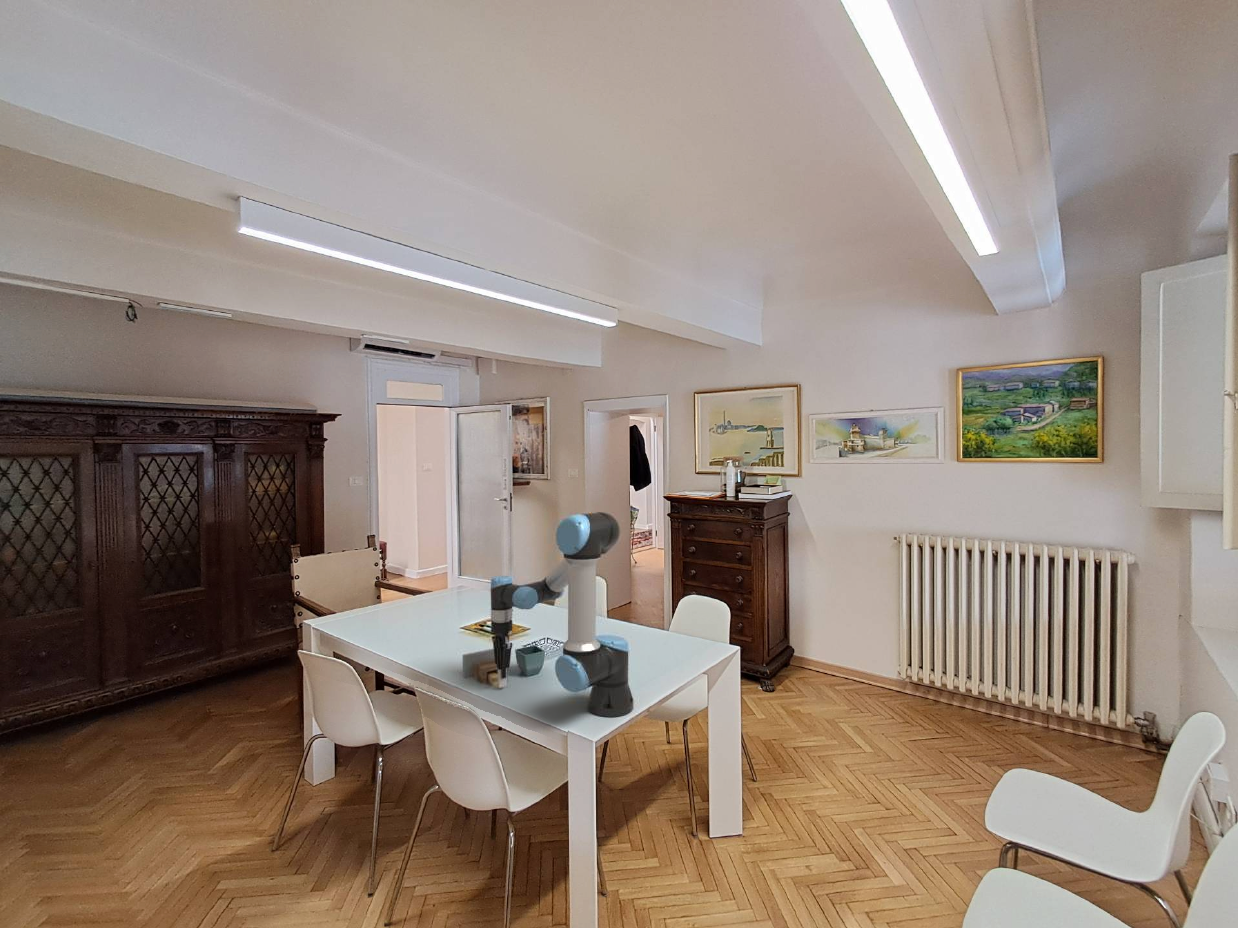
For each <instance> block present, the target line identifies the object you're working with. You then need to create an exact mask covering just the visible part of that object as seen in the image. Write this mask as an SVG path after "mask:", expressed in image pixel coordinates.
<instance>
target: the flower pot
mask: <svg viewBox="0 0 1238 928" xmlns="http://www.w3.org/2000/svg"><path fill="white" fill-rule="evenodd" d="M514 654H515V660H516V664H517V667H518V669H519V671H520V672H521V673H522V675H524V676H526V677H530V676H534V675H537V674H538V675H539V673H540V672H541V671H542V669H543V666H544V663H545V656H546V655H545V654H546V650H544V649H543V648H541V647H539V646H537V645H529V646H525V647H524V646H523V647H520V648H516V649H514Z"/></svg>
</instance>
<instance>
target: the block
mask: <svg viewBox="0 0 1238 928" xmlns="http://www.w3.org/2000/svg"><path fill="white" fill-rule="evenodd" d="M488 671H494V672H495V673H496V674H498V667H497V664H495V659H494V658H493V659H489V660H484V661H479V662H474V675H473V679H476V680H477V681H478V682H479V683H480V684H482V685H483V684H487V683H488V682H487V672H488Z"/></svg>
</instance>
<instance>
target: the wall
mask: <svg viewBox="0 0 1238 928" xmlns="http://www.w3.org/2000/svg"><path fill="white" fill-rule="evenodd" d="M493 658H494V648H490V649H485V650H481V651H475V652H469V653H465V654H462V677H463V678H469V677H474V662H479V661H484V660H489V659H493Z"/></svg>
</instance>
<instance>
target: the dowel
mask: <svg viewBox="0 0 1238 928" xmlns="http://www.w3.org/2000/svg"><path fill="white" fill-rule="evenodd" d="M487 683H488V684H490V685H491V686H492V687H495V686H498V674H496V673H495V672H494V671H488V672H487Z"/></svg>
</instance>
